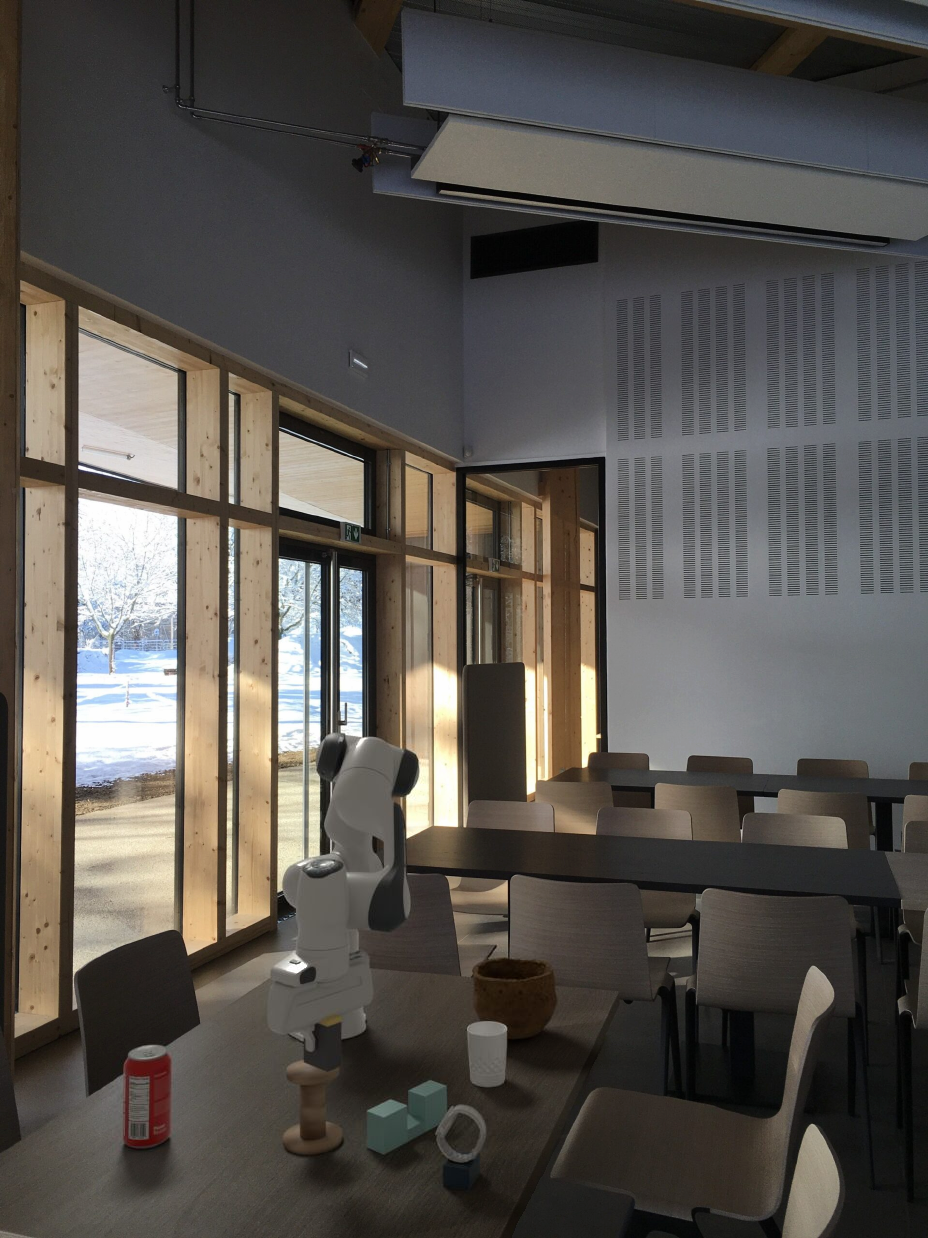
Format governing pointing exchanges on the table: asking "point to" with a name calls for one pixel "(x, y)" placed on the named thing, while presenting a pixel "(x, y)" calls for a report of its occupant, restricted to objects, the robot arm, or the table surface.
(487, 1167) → the table surface
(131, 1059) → the soda can
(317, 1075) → the bobbin
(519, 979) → the bowl
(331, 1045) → the yellow and black block
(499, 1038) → the white cup
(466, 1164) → the watch
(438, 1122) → the notch board
